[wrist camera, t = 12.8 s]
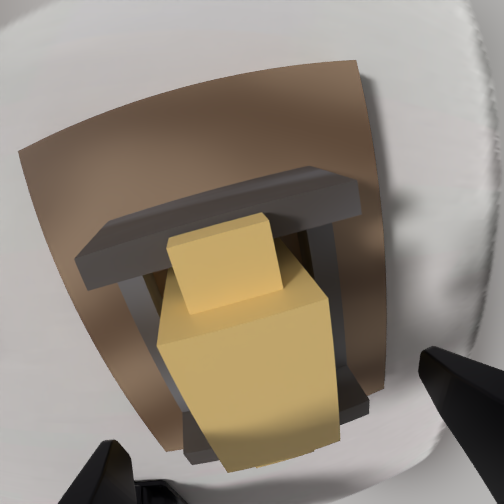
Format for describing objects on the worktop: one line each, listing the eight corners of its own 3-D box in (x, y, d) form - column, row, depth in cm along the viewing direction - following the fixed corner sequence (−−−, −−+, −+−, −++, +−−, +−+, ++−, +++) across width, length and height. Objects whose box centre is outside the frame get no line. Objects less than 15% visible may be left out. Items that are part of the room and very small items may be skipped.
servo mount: (373, 374, 19) (414, 432, 14) (166, 434, 18) (166, 505, 13) (340, 66, 12) (414, 39, 7) (34, 149, 11) (-41, 162, 6)
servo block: (299, 370, 16) (341, 463, 10) (223, 392, 15) (240, 491, 10) (260, 181, 12) (317, 223, 6) (156, 209, 12) (125, 276, 6)
